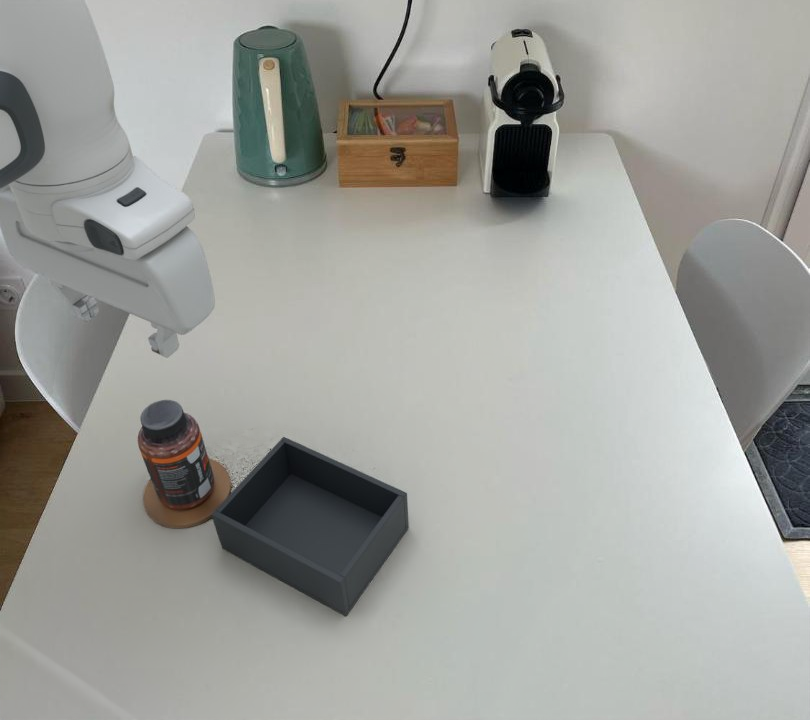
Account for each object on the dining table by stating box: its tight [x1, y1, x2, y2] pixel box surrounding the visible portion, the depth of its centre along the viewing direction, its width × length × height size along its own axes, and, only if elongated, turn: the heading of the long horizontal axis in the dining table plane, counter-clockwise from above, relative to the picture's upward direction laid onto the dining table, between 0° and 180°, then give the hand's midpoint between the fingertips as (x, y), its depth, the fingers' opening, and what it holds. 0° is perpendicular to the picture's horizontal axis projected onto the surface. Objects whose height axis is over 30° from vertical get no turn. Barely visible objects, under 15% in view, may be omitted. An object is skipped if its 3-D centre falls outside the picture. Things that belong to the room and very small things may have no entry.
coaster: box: [142, 457, 233, 529], centre depth 85 cm, size 9×9×1 cm
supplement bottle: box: [137, 399, 214, 509], centre depth 80 cm, size 6×6×11 cm
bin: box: [211, 436, 410, 617], centre depth 78 cm, size 11×15×6 cm
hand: (125, 332), depth 70 cm, fingers open, 8 cm apart
